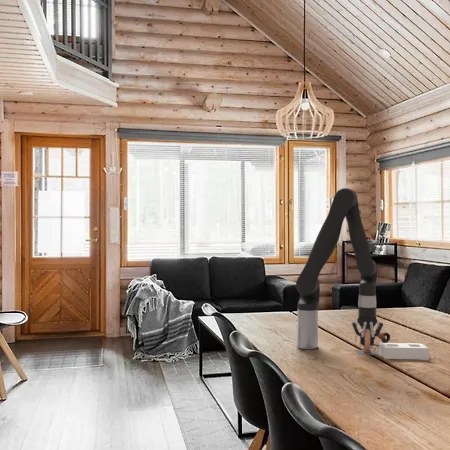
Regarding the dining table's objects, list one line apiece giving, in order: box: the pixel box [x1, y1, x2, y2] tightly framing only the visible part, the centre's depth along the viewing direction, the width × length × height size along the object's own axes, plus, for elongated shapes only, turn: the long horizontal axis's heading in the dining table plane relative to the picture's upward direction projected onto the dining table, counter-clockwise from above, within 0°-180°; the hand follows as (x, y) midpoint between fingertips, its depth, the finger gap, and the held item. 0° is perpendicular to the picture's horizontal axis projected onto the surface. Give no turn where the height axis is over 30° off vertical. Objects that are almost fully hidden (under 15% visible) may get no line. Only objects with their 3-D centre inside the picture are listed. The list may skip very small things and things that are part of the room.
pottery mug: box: [374, 331, 391, 343], centre depth 251 cm, size 12×10×8 cm
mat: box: [354, 349, 380, 356], centre depth 236 cm, size 9×9×1 cm
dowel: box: [362, 329, 372, 353], centre depth 236 cm, size 3×3×10 cm
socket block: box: [378, 342, 430, 361], centre depth 230 cm, size 18×9×5 cm, turn 88°
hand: (367, 345), depth 236 cm, fingers closed on dowel, 3 cm apart
